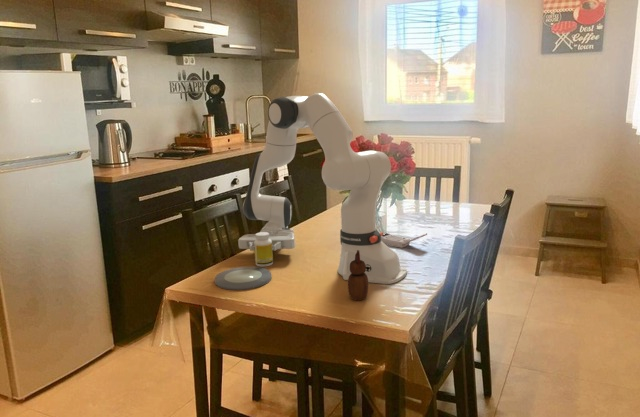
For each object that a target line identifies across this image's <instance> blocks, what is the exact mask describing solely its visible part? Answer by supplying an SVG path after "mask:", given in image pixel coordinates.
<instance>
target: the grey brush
mask: <svg viewBox="0 0 640 417" xmlns="http://www.w3.org/2000/svg"><path fill="white" fill-rule="evenodd" d="M385 233H386V234H385V235H382V236H381V241H382V242H383V243H384V244H386V245H387V246H391V247H397V248H401V249H403V248H405V247H407V246H409V245H410V243H411V242H413V241H416V240H418V239H420V238H423V237H426V236H427V235H428V233H427V232H426V233H424V234H422V235H419V236H416V237H415V238H412V239H410V238H406V237H402V236H397V235H393V234H390V233H387V232H385Z"/></svg>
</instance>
